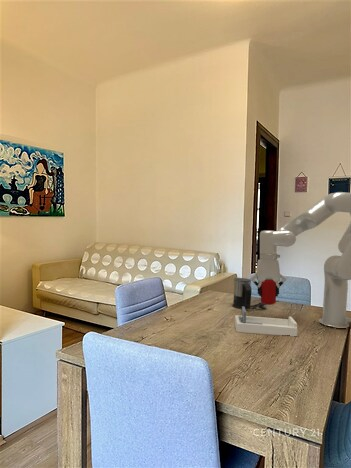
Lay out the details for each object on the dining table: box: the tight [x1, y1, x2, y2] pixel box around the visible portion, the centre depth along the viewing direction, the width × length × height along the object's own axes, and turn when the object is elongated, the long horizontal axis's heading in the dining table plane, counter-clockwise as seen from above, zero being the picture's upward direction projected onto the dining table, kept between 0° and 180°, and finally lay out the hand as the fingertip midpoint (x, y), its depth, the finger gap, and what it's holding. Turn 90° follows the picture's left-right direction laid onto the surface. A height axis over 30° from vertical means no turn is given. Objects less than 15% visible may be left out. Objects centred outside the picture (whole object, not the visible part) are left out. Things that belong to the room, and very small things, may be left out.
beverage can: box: [260, 279, 277, 306], centre depth 149 cm, size 7×7×12 cm
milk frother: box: [232, 277, 266, 310], centre depth 171 cm, size 14×16×15 cm
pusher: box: [241, 306, 263, 325], centre depth 137 cm, size 8×9×7 cm
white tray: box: [234, 314, 298, 337], centre depth 137 cm, size 24×12×5 cm, turn 83°
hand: (268, 295), depth 150 cm, fingers closed on beverage can, 6 cm apart
